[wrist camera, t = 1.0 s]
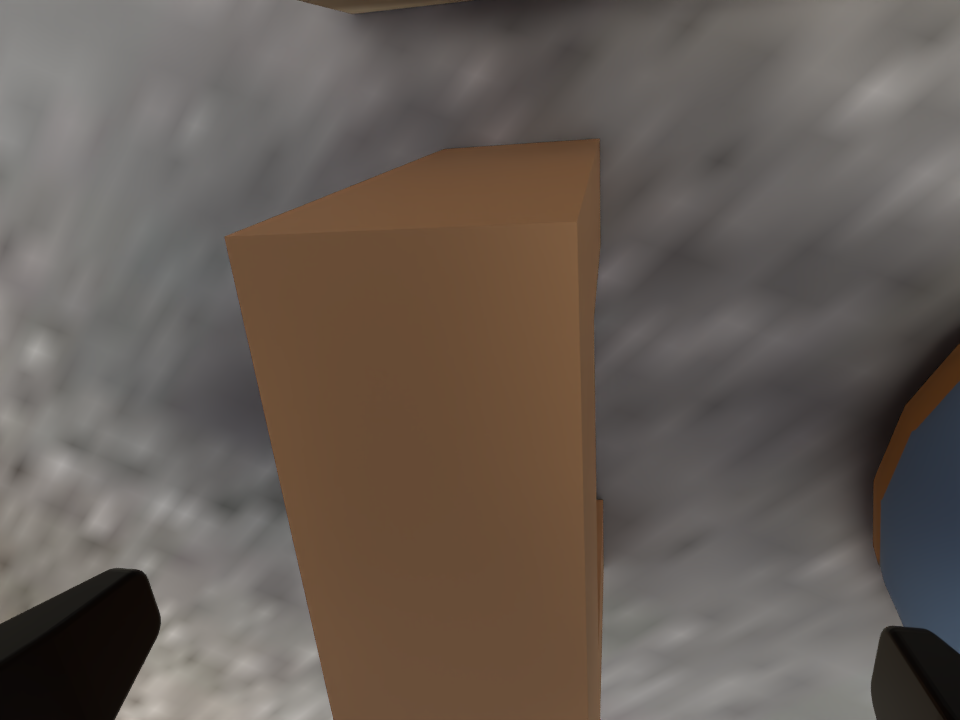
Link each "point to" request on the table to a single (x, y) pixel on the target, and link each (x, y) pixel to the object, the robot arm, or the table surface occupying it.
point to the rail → (375, 4)
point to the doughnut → (923, 507)
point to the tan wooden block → (440, 429)
